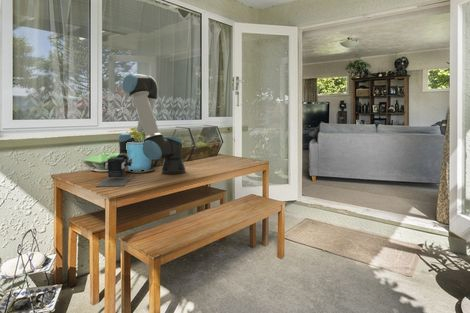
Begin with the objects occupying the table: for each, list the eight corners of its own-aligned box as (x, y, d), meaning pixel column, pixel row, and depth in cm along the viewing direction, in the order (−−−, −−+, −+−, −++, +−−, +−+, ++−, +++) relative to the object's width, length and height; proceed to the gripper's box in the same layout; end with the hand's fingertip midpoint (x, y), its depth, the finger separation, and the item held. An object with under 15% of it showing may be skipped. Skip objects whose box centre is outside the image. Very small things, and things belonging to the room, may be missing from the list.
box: (124, 175, 184) (124, 157, 183) (122, 177, 179) (121, 158, 177) (111, 175, 184) (110, 157, 182) (108, 177, 178) (107, 158, 176)
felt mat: (131, 178, 186) (130, 177, 186) (124, 186, 167) (124, 185, 167) (106, 178, 184) (106, 177, 184) (96, 187, 165) (96, 186, 165)
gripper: (139, 165, 200) (133, 172, 177) (105, 165, 197) (95, 173, 175) (139, 153, 199) (133, 159, 176) (105, 154, 196) (94, 160, 173)
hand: (114, 166), depth 175 cm, fingers closed on box, 8 cm apart
